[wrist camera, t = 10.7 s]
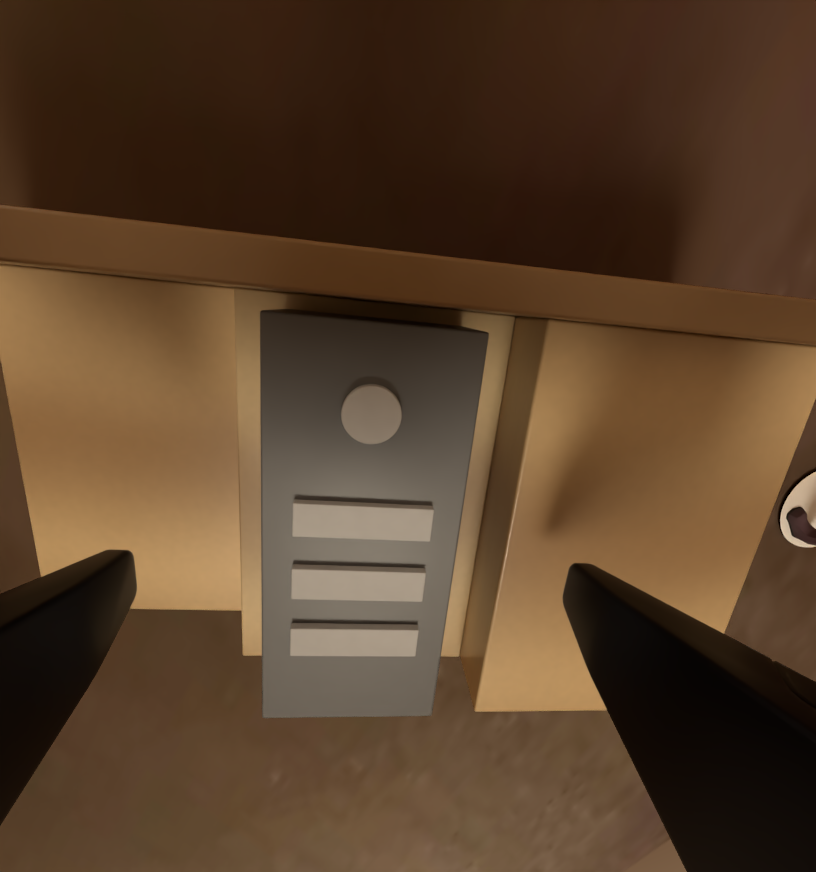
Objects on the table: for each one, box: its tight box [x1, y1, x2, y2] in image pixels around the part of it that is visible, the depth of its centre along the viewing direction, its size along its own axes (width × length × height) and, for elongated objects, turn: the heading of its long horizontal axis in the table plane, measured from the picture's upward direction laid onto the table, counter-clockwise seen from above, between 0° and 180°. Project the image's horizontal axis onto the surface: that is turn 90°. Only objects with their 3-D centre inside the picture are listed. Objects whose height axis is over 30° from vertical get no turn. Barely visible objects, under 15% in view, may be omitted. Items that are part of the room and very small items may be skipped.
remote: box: [260, 309, 489, 718], centre depth 11 cm, size 10×4×3 cm, turn 174°
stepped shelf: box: [0, 204, 816, 712], centre depth 12 cm, size 12×21×8 cm, turn 85°
